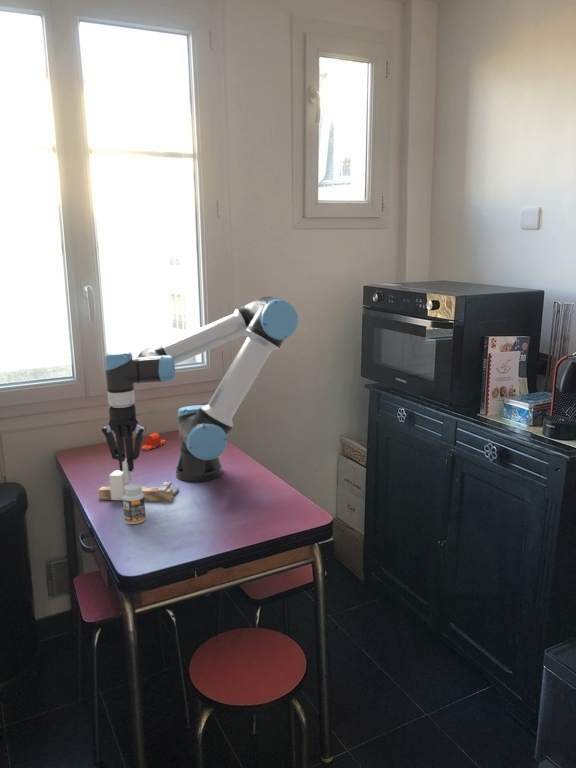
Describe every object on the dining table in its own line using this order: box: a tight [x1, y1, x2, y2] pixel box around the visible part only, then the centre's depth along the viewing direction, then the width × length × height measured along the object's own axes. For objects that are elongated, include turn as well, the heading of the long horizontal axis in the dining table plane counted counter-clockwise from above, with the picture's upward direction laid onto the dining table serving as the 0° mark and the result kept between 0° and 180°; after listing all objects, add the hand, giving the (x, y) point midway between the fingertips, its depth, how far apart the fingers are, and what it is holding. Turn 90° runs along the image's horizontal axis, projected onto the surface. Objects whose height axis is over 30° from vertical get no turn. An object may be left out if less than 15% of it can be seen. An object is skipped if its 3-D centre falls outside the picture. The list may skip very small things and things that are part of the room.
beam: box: [98, 486, 174, 502], centre depth 187 cm, size 22×2×3 cm, turn 83°
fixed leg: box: [157, 480, 172, 492], centre depth 187 cm, size 2×7×2 cm, turn 173°
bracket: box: [141, 432, 166, 450], centre depth 237 cm, size 12×4×5 cm, turn 151°
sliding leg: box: [108, 469, 130, 501], centre depth 188 cm, size 4×8×8 cm, turn 173°
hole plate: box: [141, 485, 180, 497], centre depth 192 cm, size 22×4×1 cm, turn 83°
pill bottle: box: [122, 483, 147, 525], centre depth 171 cm, size 6×6×10 cm
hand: (127, 481), depth 186 cm, fingers closed
